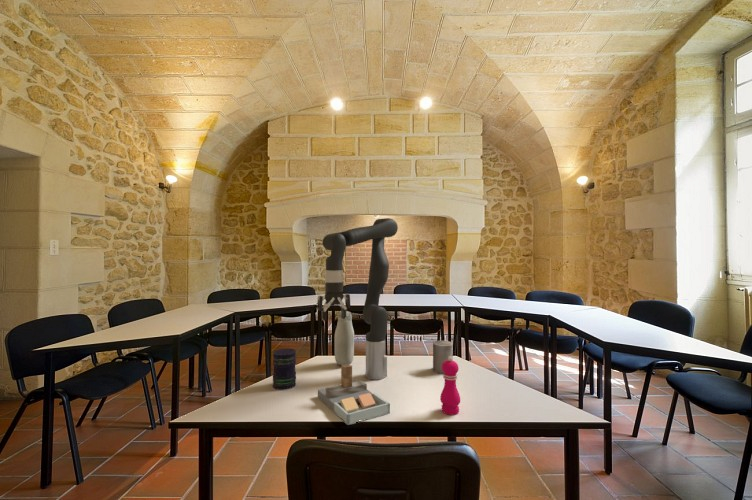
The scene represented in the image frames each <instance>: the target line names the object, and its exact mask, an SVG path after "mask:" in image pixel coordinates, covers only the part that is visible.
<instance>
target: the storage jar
mask: <svg viewBox="0 0 752 500" xmlns="http://www.w3.org/2000/svg"><path fill="white" fill-rule="evenodd" d="M296 352H297V351H296V348H295V349H294V348H278V349H276V350H274V351H273V352H272V362H273V363H272V366H273V373H272V384H273V385H272V388H273V389H274V390H278V391H285V390H290V389H293V388H294V387H296V385H297V384H296V381H297V372H296V363H297V353H296Z"/></svg>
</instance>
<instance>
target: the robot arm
mask: <svg viewBox="0 0 752 500" xmlns="http://www.w3.org/2000/svg"><path fill="white" fill-rule="evenodd" d="M398 230H399V227H398V223H397V221H396V220H395V219H393V218H390V217H387V218H385V217H384V218H378V219H376V220H375V221H374V222H373V225H369V226H366V225H365V226H360V227H355V228H352V229H347V230H344V231H340V232H334V233H329V234H326V235H325V236H324V237H323V239H322V246H323V248H324V249H326V250H327V251H331V252H330V255H329V256H327V257H326V258H325V275H324V292H325V293H324V295H318V296H317V305H316V309H317V310H318V311H321V319H322V320H323V321H324V322H326V321H327V310H328V309H329V308H330V307H331V306H339V307H340V308H341V309H340V312H341V317H342V319H345V317H346V311H347V310H348V309H350V308H351V294H350V293H345V294H344V274H343V260H344V257H345V253H346V247H350V246H355V245H358V244H361V243H364V242H368V241H371V256H370V264H369V272H368V281H367V282H368V283H367V289H366V291H367V292H366V295H365V296H366V297H365V301H364V306H363V310H362V318H363V321H364V322H365V323H366V324H368V325H370V330H369V332H366V334H365V378H367V379H368V380H374V381H375V380H382V379H385V378H386V377H388V356H387V355H386V336H387V333H388V321H389V320H388V317H389V316H388V312H387V310H386V309H385V308H384V307H383V306H380V305H379V303H380V297H381V293H382V291H383V289H384V287H385V286H386V284H387V282H388V279H389V272H390V271H389V270H390V263H389V260H388V256H387V254H386V251H385V238H392V237H394V236H395V235H396V234H397V232H398ZM343 299H344V302H345V303H344V302H343ZM323 301H325V302H324V303H323Z"/></svg>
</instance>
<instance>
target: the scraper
mask: <svg viewBox="0 0 752 500" xmlns="http://www.w3.org/2000/svg"><path fill="white" fill-rule="evenodd" d="M340 366H341V368H340V369H341V372H340V376H341V377H340V378H341V379H340V380H341V381H340V384H339V385H340V386H337V385H334V386H335V387H332V386H330V387H331V388H327V387H325V388H326V396H327V397H329V398H330V399H331V398H335V397H339V396H344V395H348V394H352V393H357V392H361V391H365V390H368V388H367V387H368V384H367V383H366V382H364V381H363V380H359V381H353V366H352V365H351V364H346V365H340ZM352 382H354V383H352Z"/></svg>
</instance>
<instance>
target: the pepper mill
mask: <svg viewBox="0 0 752 500" xmlns="http://www.w3.org/2000/svg"><path fill="white" fill-rule="evenodd" d="M453 359H454V358H452V357H451V356H449V357H448V360H447V361H445V362H444V363H443V364H442V370H443V372H444V374H443V373H442V375H443V379H444V383H443V385H444V386H443V389H442V391H441V394H440V398H439V399H440V400H439V401H440V402H441V412H442V413H443V414H446V415H449V416H451V415H452V416H455V415H457V414H459V413H460V406H459V405H460V404H461V396H460V393H459V391H458V388H457V379H458V374H457V373H458V372H459V364H458V362H456V361H454V360H453ZM452 360H453V361H452Z"/></svg>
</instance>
